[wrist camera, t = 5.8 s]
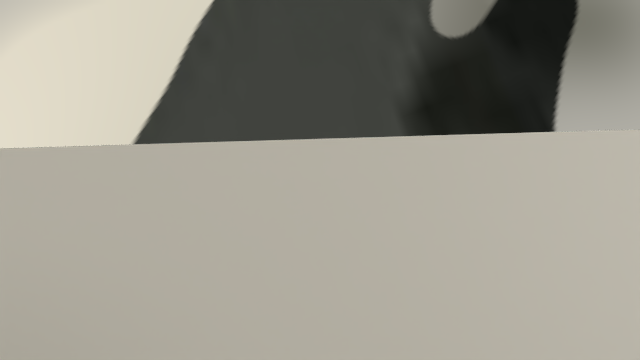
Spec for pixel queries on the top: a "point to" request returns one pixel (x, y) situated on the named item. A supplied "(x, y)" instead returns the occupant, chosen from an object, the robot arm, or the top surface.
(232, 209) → the fuselage block
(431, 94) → the top surface
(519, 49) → the top surface
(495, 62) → the top surface
